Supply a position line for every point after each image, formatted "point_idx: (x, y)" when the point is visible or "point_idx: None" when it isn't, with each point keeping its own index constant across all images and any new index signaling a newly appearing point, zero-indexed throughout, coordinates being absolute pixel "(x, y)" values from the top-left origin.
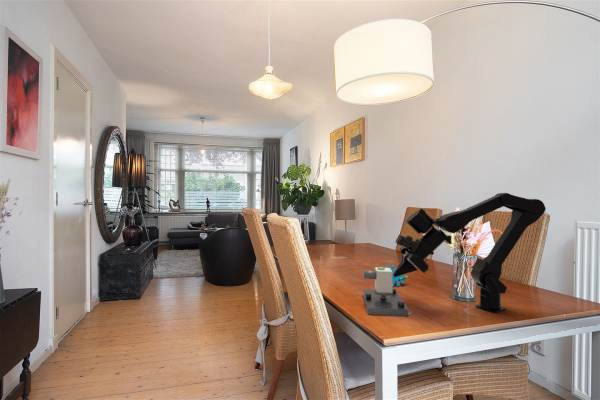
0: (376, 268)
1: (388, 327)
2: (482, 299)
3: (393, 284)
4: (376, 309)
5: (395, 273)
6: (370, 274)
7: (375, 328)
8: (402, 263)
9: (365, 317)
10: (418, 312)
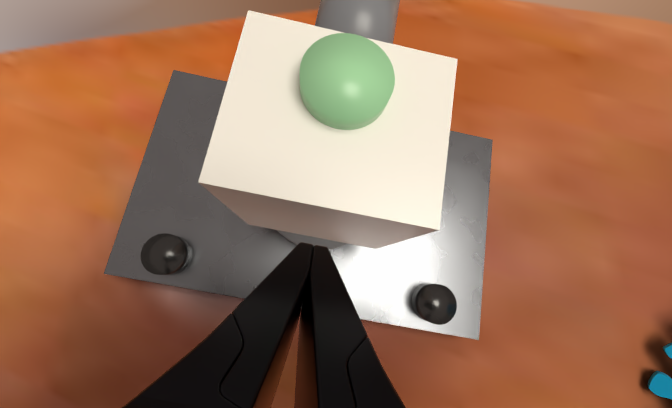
0: (394, 54)
1: (8, 124)
2: None
3: (664, 391)
4: (163, 111)
5: (287, 259)
6: (319, 11)
7: (14, 67)
8: (191, 393)
9: (151, 67)
10: (171, 358)
